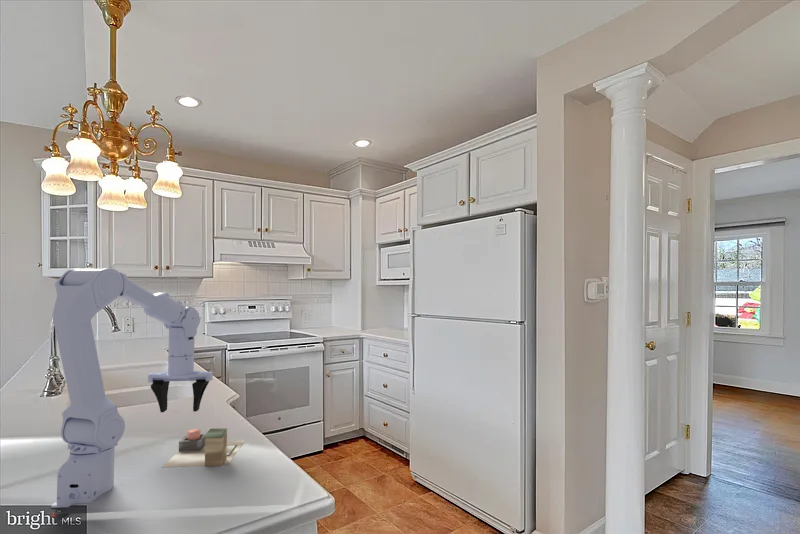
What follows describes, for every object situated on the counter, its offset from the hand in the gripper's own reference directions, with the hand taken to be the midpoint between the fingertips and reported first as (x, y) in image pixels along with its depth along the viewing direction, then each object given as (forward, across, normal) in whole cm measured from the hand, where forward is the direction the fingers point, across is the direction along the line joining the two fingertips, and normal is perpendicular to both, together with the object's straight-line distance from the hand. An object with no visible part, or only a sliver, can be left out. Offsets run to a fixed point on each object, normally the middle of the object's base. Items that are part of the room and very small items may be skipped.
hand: (180, 410), depth 107 cm
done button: (+8, -3, 0) cm, 8 cm away
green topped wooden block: (+9, -12, +10) cm, 18 cm away
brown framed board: (+10, -8, +4) cm, 13 cm away
